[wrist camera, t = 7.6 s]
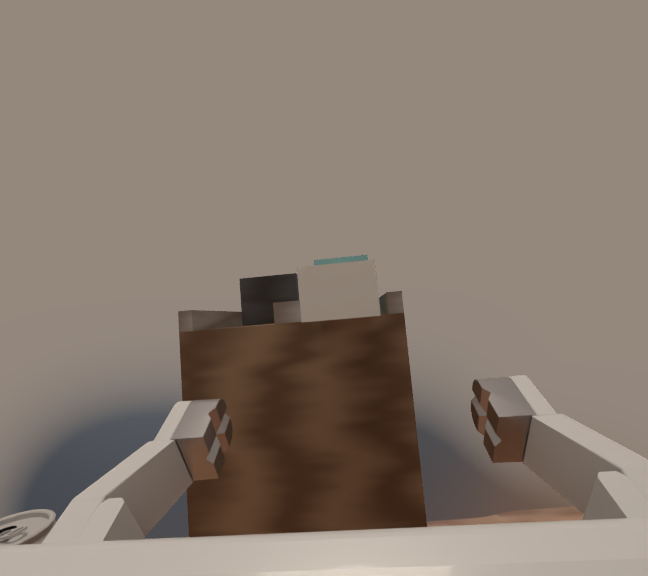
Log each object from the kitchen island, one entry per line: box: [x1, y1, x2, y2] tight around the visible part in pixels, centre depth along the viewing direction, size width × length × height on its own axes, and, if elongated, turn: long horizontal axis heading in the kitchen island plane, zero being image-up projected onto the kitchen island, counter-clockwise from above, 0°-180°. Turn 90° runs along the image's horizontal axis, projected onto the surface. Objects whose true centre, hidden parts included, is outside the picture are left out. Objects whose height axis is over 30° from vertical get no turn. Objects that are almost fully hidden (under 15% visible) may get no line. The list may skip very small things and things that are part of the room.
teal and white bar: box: [297, 255, 381, 322], centre depth 25 cm, size 4×20×4 cm, turn 175°
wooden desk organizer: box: [178, 273, 427, 537], centre depth 29 cm, size 16×12×31 cm
